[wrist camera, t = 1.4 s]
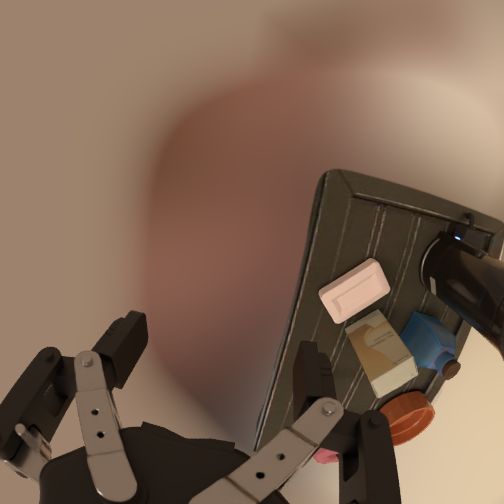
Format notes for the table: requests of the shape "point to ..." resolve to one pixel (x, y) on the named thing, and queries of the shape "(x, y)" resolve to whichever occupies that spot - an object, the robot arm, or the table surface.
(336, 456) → the apple
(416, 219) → the table surface
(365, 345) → the cosmetic box
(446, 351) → the blue potion bottle
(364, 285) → the soap bar
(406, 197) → the table surface
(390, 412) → the bowl
